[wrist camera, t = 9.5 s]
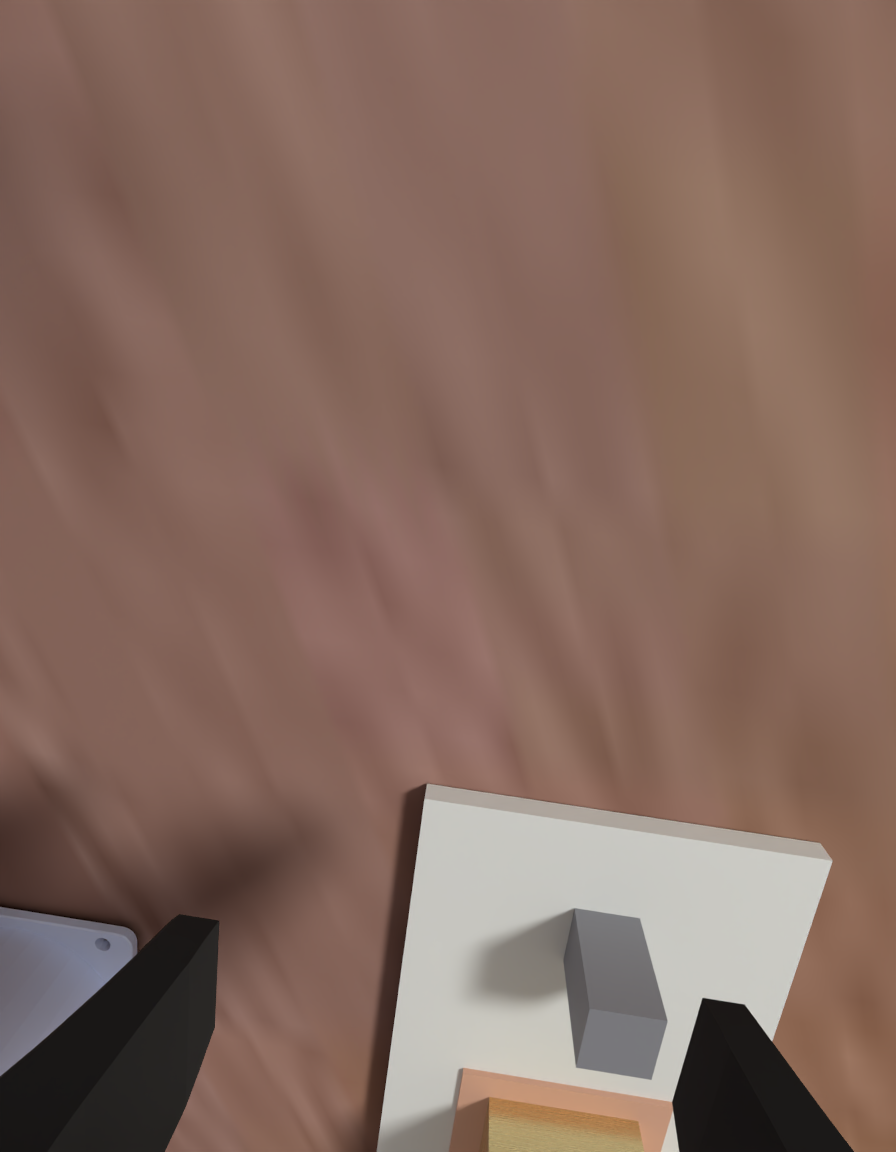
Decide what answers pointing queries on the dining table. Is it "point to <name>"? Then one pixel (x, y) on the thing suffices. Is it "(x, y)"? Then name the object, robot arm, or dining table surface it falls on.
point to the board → (521, 930)
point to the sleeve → (554, 1130)
